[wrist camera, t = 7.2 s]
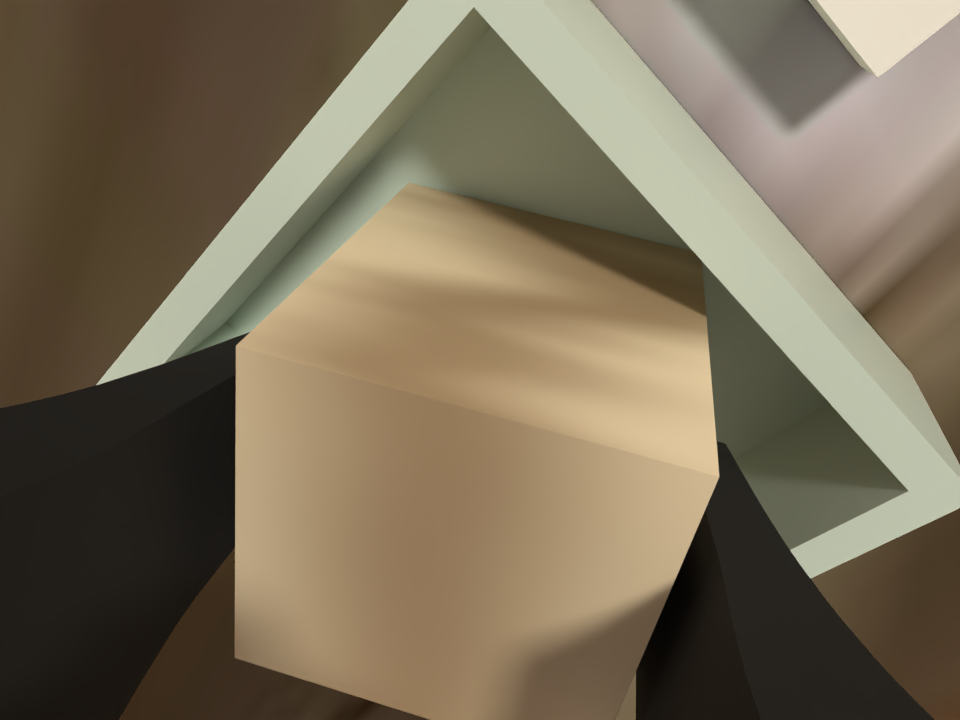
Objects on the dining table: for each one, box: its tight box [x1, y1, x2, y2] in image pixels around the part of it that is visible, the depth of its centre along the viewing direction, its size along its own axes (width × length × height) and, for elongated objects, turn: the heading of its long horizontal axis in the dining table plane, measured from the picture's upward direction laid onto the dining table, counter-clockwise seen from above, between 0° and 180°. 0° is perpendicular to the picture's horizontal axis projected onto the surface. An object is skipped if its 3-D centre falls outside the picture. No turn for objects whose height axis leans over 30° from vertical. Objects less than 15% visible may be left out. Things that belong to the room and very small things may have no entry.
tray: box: [97, 0, 960, 579], centre depth 13 cm, size 10×10×4 cm
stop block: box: [235, 183, 719, 720], centre depth 11 cm, size 5×5×6 cm
